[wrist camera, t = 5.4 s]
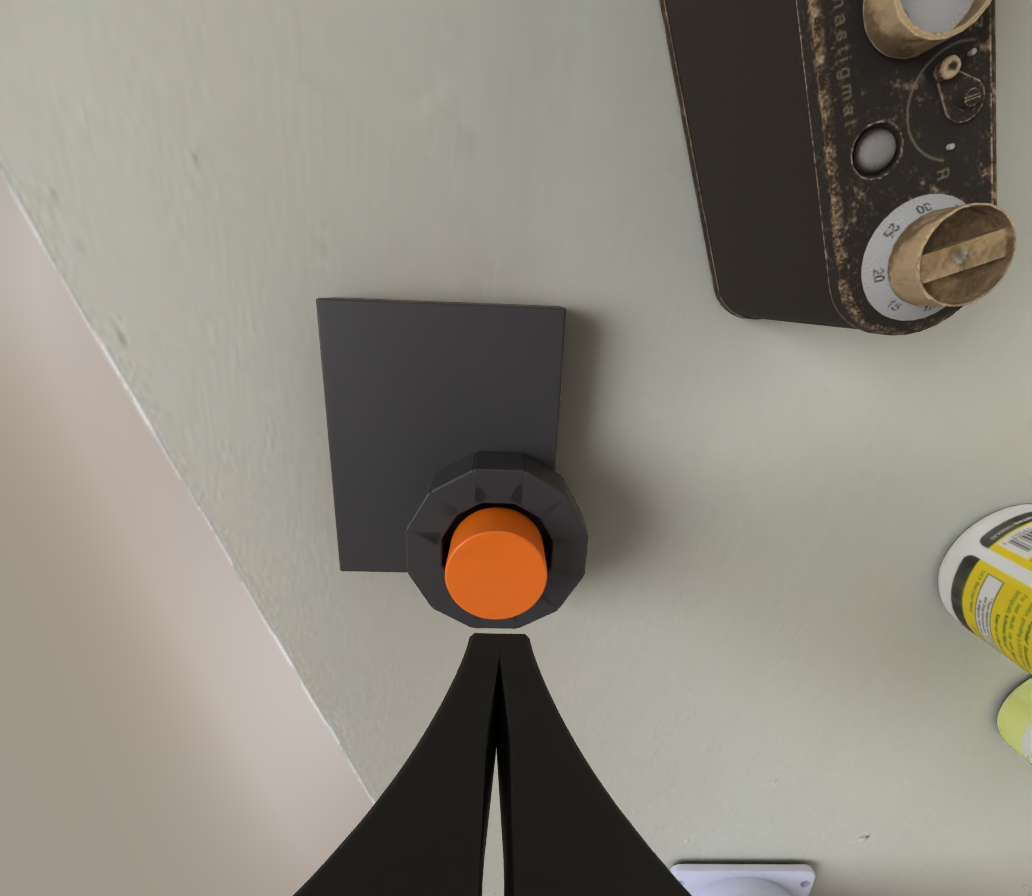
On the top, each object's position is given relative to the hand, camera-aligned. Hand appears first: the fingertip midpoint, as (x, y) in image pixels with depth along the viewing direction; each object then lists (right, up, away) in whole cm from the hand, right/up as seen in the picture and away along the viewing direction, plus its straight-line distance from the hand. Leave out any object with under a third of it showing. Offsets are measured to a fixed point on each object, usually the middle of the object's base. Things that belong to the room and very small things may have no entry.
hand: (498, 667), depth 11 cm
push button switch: (-2, +6, +7) cm, 9 cm away
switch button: (0, +2, +5) cm, 5 cm away
